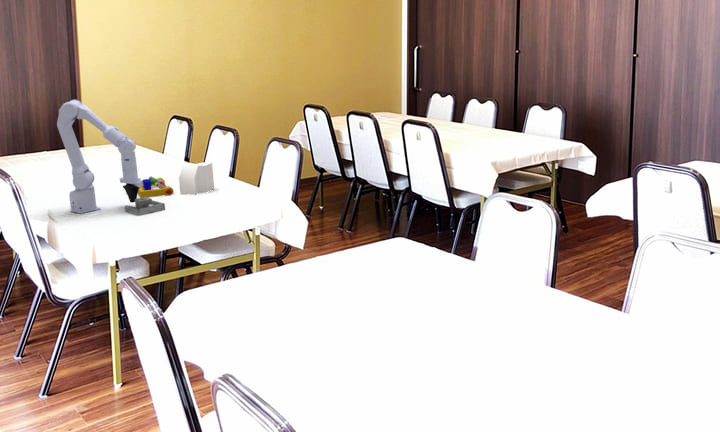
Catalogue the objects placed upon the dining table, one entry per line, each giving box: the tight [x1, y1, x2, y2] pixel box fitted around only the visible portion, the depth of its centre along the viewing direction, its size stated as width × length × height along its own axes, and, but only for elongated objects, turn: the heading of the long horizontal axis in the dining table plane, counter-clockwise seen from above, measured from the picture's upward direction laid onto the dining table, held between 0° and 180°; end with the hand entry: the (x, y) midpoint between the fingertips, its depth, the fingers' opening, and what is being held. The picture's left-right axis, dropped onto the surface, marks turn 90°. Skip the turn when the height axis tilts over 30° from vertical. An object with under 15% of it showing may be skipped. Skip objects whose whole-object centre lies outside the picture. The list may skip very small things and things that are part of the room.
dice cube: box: [134, 197, 152, 209], centre depth 311 cm, size 5×5×5 cm
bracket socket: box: [124, 200, 166, 216], centre depth 311 cm, size 12×11×3 cm
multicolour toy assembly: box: [137, 175, 175, 198], centre depth 347 cm, size 18×6×30 cm
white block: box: [178, 162, 215, 195], centre depth 341 cm, size 11×11×12 cm
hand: (133, 201), depth 317 cm, fingers closed
